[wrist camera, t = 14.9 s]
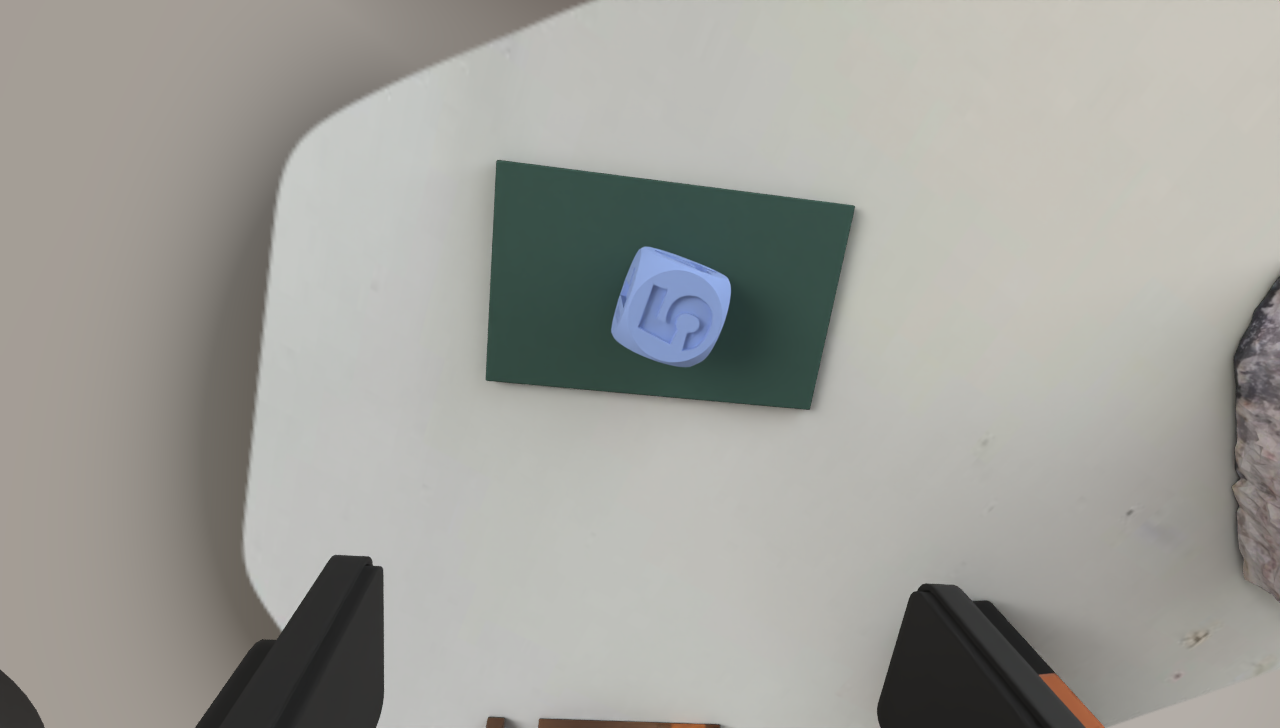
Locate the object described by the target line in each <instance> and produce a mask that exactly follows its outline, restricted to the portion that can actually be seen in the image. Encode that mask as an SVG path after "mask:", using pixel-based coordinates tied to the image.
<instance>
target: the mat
mask: <svg viewBox="0 0 1280 728" xmlns="http://www.w3.org/2000/svg"><path fill="white" fill-rule="evenodd" d="M854 209H855V206H853V205H846V204H838V203H830V202H822V201H814V200H807V199H799V198H791V197H783V196H775V195H768V194H760V193H752V192H744V191H736V190H729V189H721V188H713V187H705V186H697V185H690V184H682V183H674V182H666V181H658V180H651V179H643V178H635V177H627V176H619V175H612V174H604V173H596V172H588V171H580V170H572V169H565V168H557V167H549V166H541V165H533V164H526V163H518V162H510V161H502V160H497V161H496V181H495V201H494V221H493V242H492V262H491V282H490V303H489V323H488V343H487V364H486V380H487V381H496V382H507V383H518V384H529V385H540V386H551V387H562V388H573V389H585V390H596V391H607V392H618V393H629V394H640V395H651V396H662V397H673V398H684V399H695V400H707V401H718V402H729V403H740V404H751V405H762V406H773V407H784V408H795V409H806V410H809V409H810V406H811V402H812V397H813V393H814V388H815V384H816V379H817V375H818V370H819V366H820V361H821V357H822V352H823V348H824V343H825V339H826V334H827V330H828V325H829V321H830V316H831V312H832V307H833V303H834V298H835V294H836V290H837V285H838V281H839V276H840V272H841V267H842V263H843V258H844V254H845V249H846V245H847V240H848V236H849V231H850V227H851V222H852V218H853V213H854ZM643 247H652V248H656V249H659V250H663V251H666V252H669V253H672V254H675V255H678V256H681V257H683V258H686V259H689V260H691V261H694V262H696V263H699V264H701V265H704V266H706V267H708V268H711V269H713V270H715V271H717V272H719V273H721V274H723V275H725V276H726V277H727V278H728V280H729V282H730V285H731V296H730V303H729V308H728V312H727V315H726V319H725V322H724V325H723V327H722V330H721V332H720V335H719V337H718V339H717V341H716V343H715V345H714V347H713V349H712V350H711V352H710V353H709V355H708V356H707V357H706V358H705V359H704V360H703V361H702V362H700V363H698V364H695V365H693V366H691V367H677V366H672V365H668V364H664V363H660V362H657V361H654V360H652V359H649V358H646V357H644V356H642V355H639V354H637V353H635V352H633V351H631V350H629V349H628V348H626V347H624V346H623V345H621V344H620V343H619V342H617V341H616V340H615V338H614V337H613V335H612V333H611V328H612V322H613V317H614V313H615V310H616V306H617V303H618V299H619V296H620V293H621V290H622V287H623V284H624V281H625V279H626V276H627V273H628V271H629V268H630V266H631V264H632V261H633V259H634V257H635V255H636V253H637V252H638V250H639V249H641V248H643Z"/></svg>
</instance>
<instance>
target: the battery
mask: <svg viewBox="0 0 1280 728" xmlns="http://www.w3.org/2000/svg"><path fill="white" fill-rule="evenodd" d="M973 603H974V604H975V605H976V606H977V607H978V608H979V610H980V611H981V612H982V613H983V614H984V615H985V616H986V617H987V618H988V620H989V621H990V622H991V623H992V624H993V625H994V626H995V627H996V628H997V630H998V631H999V632H1000V633H1001V634H1002V635H1003V636H1004V637H1005V638H1006V640H1007V641H1008V642H1009V643H1010V644H1011V645H1012V646H1013V647H1014V648H1015V650H1016V651H1017V652H1018V653H1019V654H1020V655H1021V656H1022V657H1023V658H1024V660H1025V661H1026V662H1027V663H1028V664H1029V665H1030V666H1031V667H1032V668H1033V669H1034V671H1035V672H1036V673H1037V674H1038V675H1039V676H1040V677H1041V678H1042V679H1043V681H1044V682H1045V683H1046V684H1047V685H1048V686H1049V687H1050V688H1051V689H1052V691H1053V692H1054V693H1055V694H1056V695H1057V696H1058V697H1059V698H1060V699H1061V701H1062V702H1063V703H1064V704H1065V705H1066V706H1067V707H1068V708H1069V709H1070V711H1071V712H1072V713H1073V714H1074V715H1075V716H1076V717H1077V718H1078V719H1079V721H1080V722H1081V723H1082V724H1083V725H1084V726H1085V727H1086V728H1105V727H1104V726H1103V725H1102V724H1101V723H1100V722H1099V721H1098V719H1097V718H1096V717H1095V716H1094V715H1093V714H1092V713H1091V712H1090V711H1089V710H1088V708H1087V707H1086V706H1085V705H1084V704H1083V703H1082V702H1081V701H1080V700H1079V699H1078V697H1077V696H1076V695H1075V694H1074V693H1073V692H1072V691H1071V690H1070V689H1069V688H1068V687H1067V685H1066V684H1065V683H1064V682H1063V681H1062V680H1061V679H1060V678H1059V677H1058V676H1057V674H1056V673H1055V672H1054V671H1053V670H1052V669H1051V668H1050V667H1049V666H1048V665H1047V663H1046V662H1045V661H1044V660H1043V659H1042V658H1041V657H1040V656H1039V655H1038V654H1037V652H1036V651H1035V650H1034V649H1033V648H1032V647H1031V646H1030V645H1029V644H1028V643H1027V641H1026V640H1025V639H1024V638H1023V637H1022V636H1021V635H1020V634H1019V633H1018V632H1017V630H1016V629H1015V628H1014V627H1013V626H1012V625H1011V624H1010V623H1009V622H1008V621H1007V619H1006V618H1005V617H1004V616H1003V615H1002V614H1001V613H1000V612H999V611H998V610H997V609H996V607H995V606H994V605H993V604H992V603H991V602H989V601H976V602H973Z"/></svg>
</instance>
